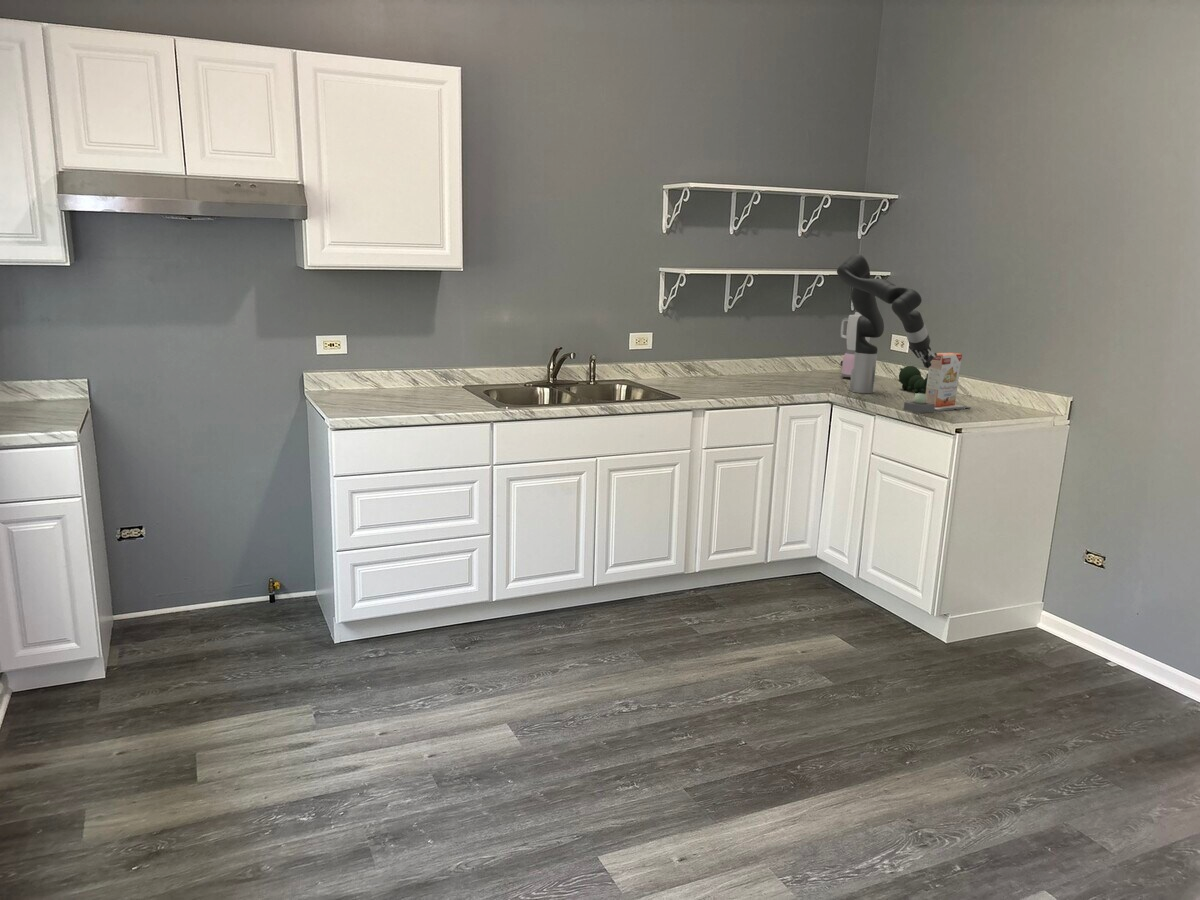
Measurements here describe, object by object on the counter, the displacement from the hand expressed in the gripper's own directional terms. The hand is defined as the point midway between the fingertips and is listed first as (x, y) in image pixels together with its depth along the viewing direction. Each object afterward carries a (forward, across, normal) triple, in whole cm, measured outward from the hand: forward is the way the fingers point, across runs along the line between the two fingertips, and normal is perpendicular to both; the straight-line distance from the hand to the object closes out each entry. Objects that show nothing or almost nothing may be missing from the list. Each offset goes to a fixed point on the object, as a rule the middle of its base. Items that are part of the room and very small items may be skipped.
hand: (928, 366), depth 337 cm
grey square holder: (+9, -6, +14) cm, 18 cm away
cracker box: (+20, -3, +2) cm, 20 cm away
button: (+7, -6, +13) cm, 15 cm away
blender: (+51, +71, -4) cm, 87 cm away
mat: (+20, -3, +3) cm, 20 cm away
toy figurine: (+41, +29, -8) cm, 51 cm away
